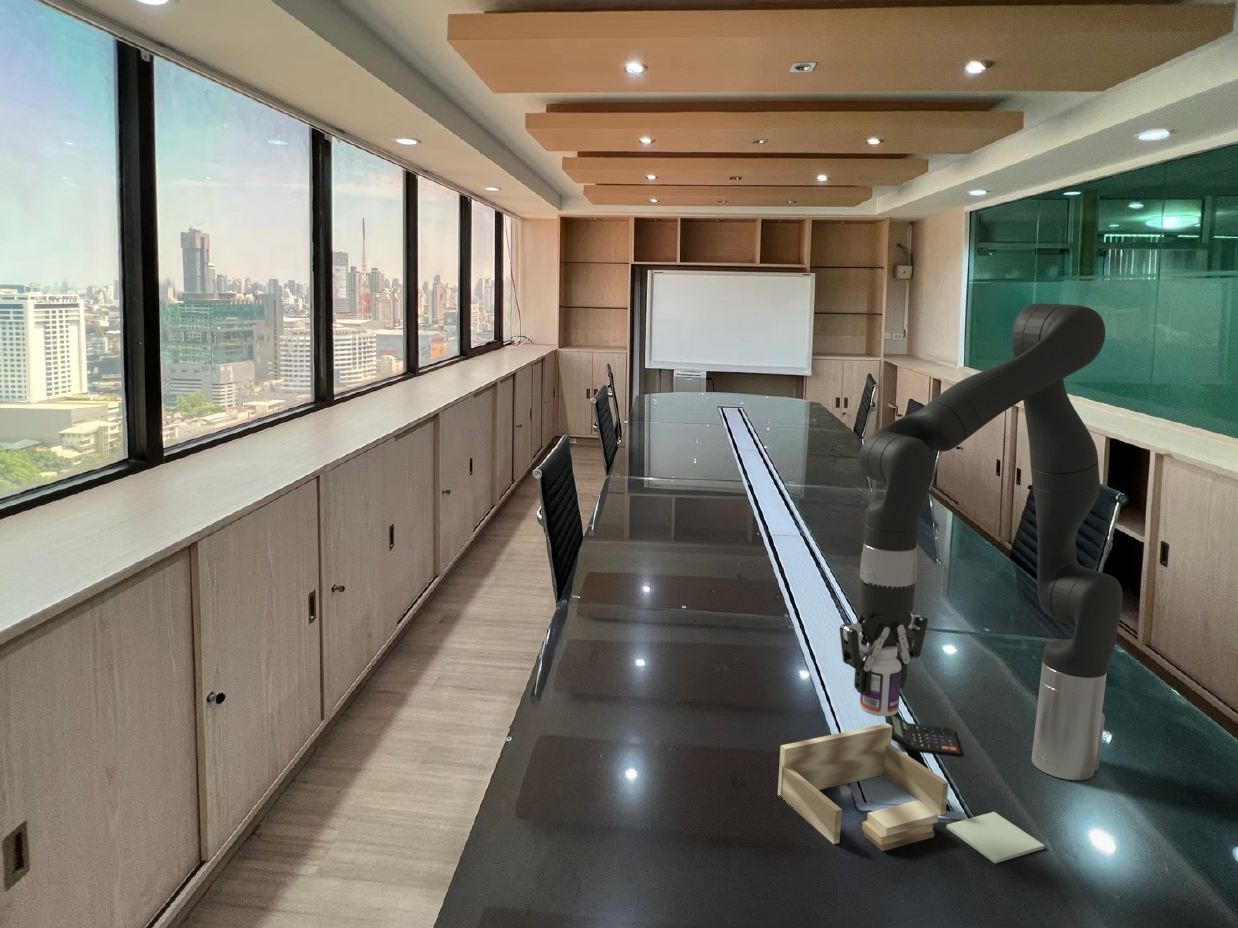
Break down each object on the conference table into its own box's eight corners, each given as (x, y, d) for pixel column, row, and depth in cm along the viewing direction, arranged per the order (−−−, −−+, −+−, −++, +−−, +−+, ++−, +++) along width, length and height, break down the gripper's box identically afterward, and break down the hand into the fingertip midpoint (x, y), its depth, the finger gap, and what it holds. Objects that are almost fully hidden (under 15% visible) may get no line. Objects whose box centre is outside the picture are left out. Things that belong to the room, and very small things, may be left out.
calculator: (960, 758, 152) (962, 741, 152) (887, 750, 154) (888, 733, 154) (952, 732, 161) (953, 716, 161) (883, 725, 164) (884, 709, 163)
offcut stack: (916, 822, 133) (918, 799, 132) (936, 837, 129) (938, 814, 129) (861, 837, 129) (863, 813, 128) (879, 853, 125) (881, 829, 125)
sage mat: (993, 814, 135) (994, 811, 135) (1044, 848, 127) (1044, 845, 127) (946, 827, 131) (946, 824, 131) (995, 863, 123) (995, 860, 123)
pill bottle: (891, 700, 135) (895, 637, 133) (903, 717, 130) (908, 652, 128) (854, 700, 135) (858, 637, 133) (865, 717, 130) (869, 652, 128)
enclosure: (883, 769, 147) (887, 723, 146) (945, 814, 135) (950, 763, 133) (777, 794, 139) (780, 745, 138) (833, 844, 127) (837, 790, 125)
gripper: (909, 563, 135) (901, 672, 138) (828, 574, 129) (822, 687, 132) (947, 577, 128) (937, 692, 131) (863, 590, 122) (855, 709, 125)
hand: (879, 689), depth 132 cm, fingers closed on pill bottle, 5 cm apart
